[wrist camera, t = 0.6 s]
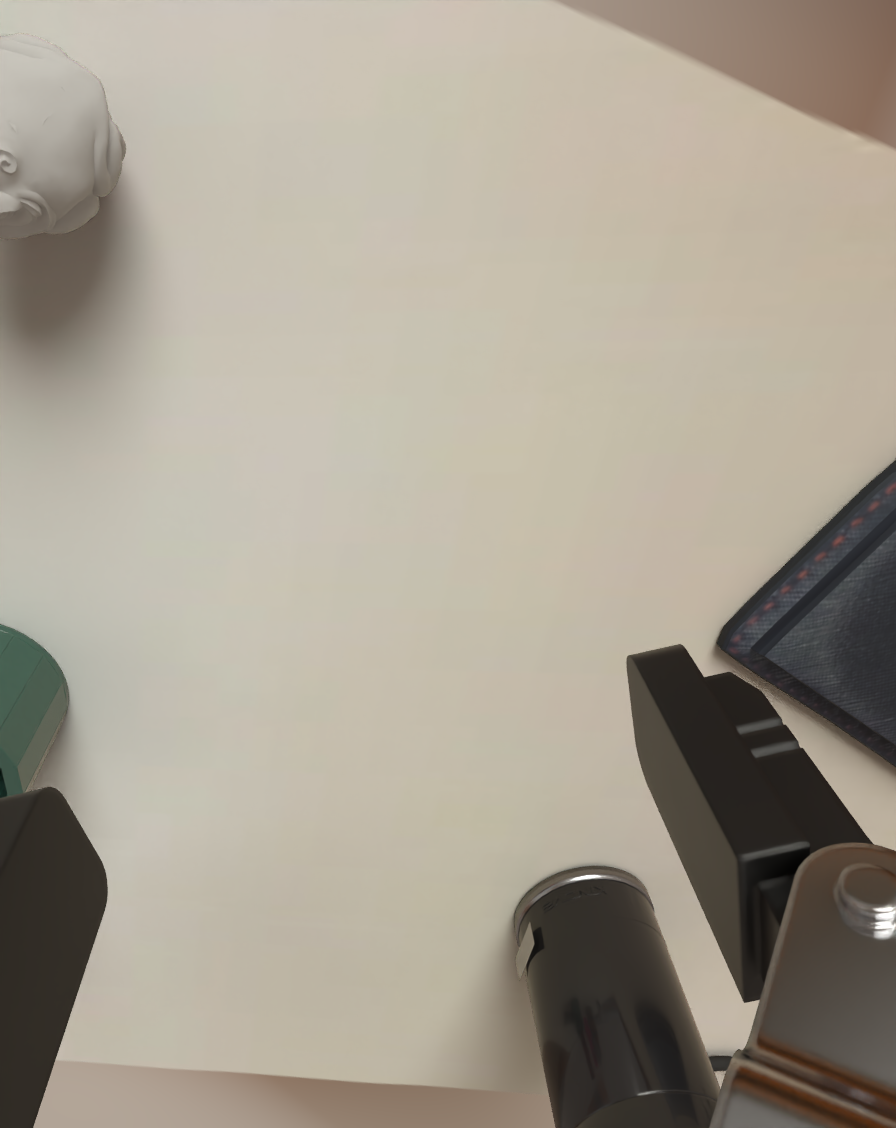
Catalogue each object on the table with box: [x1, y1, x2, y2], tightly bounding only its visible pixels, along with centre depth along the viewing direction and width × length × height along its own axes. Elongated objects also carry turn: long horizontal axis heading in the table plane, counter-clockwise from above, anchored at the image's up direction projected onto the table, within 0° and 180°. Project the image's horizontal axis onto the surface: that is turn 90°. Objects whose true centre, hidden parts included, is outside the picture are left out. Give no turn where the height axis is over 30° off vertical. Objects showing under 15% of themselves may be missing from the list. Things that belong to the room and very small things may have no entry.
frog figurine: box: [0, 33, 126, 240], centre depth 28 cm, size 6×7×7 cm
